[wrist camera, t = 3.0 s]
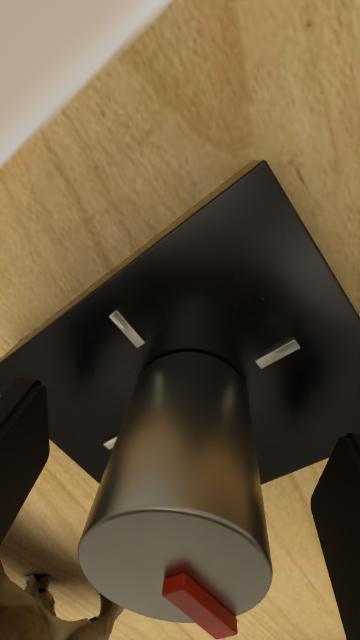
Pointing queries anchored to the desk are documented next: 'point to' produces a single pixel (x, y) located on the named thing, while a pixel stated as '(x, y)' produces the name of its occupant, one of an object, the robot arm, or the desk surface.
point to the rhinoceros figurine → (47, 614)
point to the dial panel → (208, 330)
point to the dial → (182, 500)
